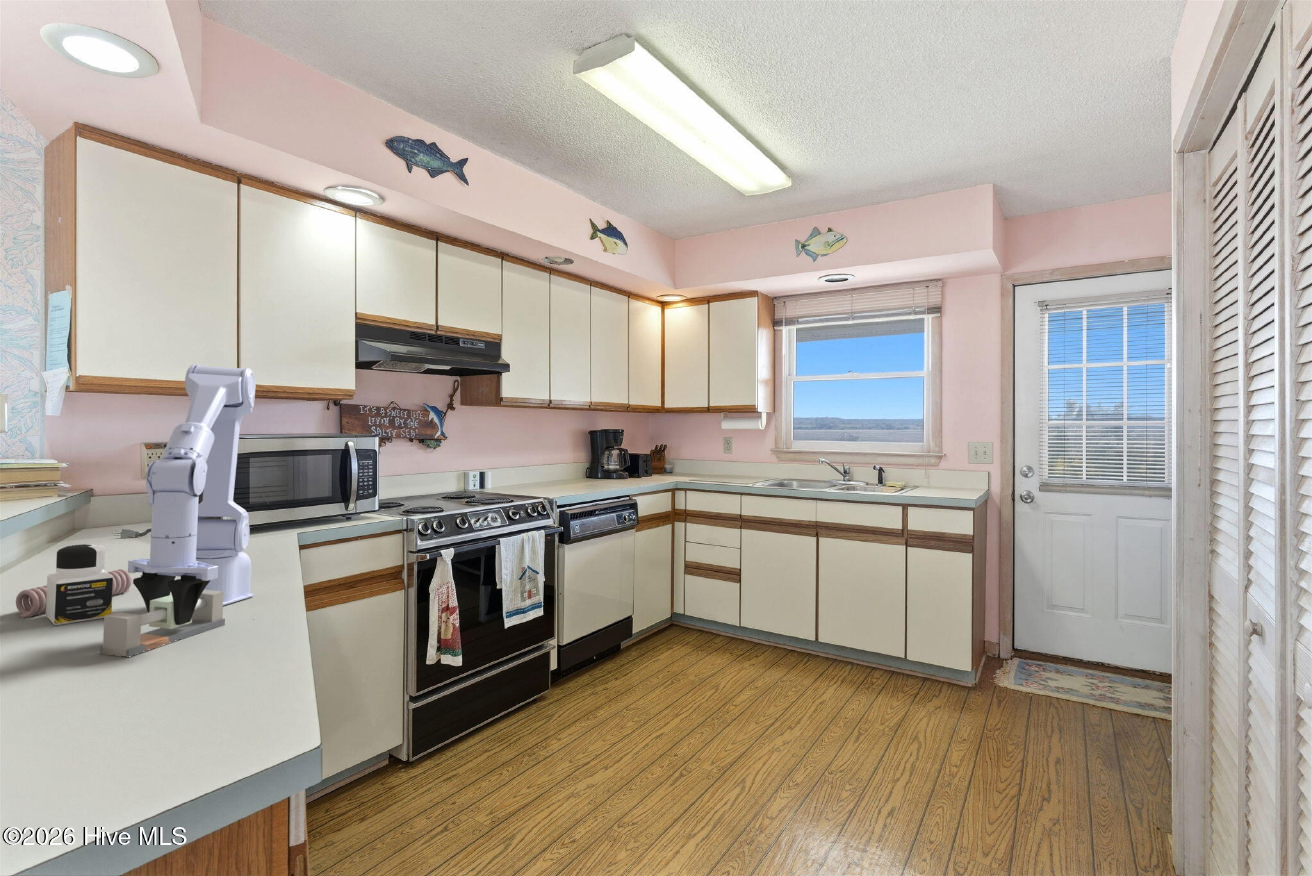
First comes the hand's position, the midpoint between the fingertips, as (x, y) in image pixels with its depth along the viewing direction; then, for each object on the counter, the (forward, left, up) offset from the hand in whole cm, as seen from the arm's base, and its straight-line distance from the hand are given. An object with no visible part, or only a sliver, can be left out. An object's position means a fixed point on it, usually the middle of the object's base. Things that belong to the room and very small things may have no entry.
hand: (170, 621), depth 98 cm
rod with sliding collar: (0, 0, -2) cm, 2 cm away
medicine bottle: (-4, -22, -3) cm, 22 cm away
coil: (-9, -30, -3) cm, 32 cm away
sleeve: (0, 0, 0) cm, 0 cm away
